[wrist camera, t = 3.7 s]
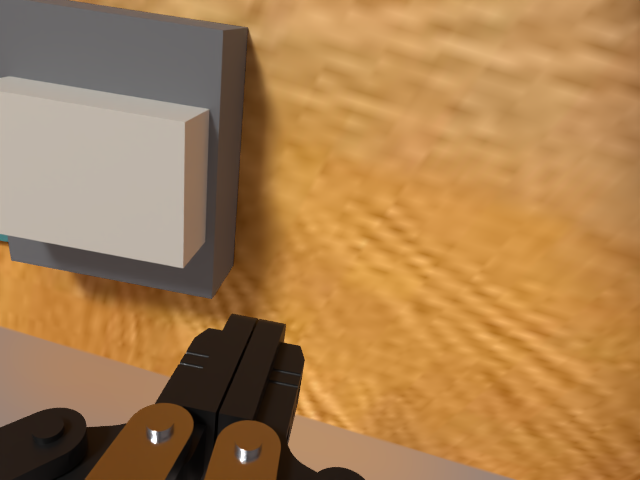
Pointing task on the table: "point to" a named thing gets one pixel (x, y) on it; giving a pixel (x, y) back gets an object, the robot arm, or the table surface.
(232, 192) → the grey flat block
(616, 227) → the table surface
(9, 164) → the white rectangular block
